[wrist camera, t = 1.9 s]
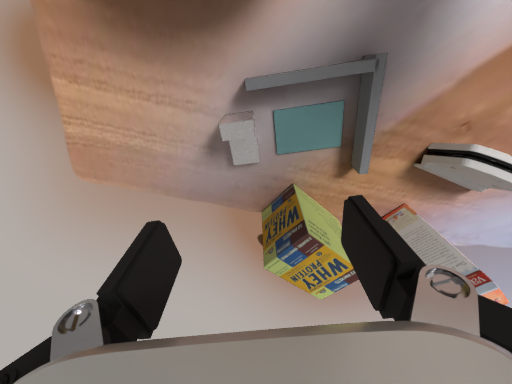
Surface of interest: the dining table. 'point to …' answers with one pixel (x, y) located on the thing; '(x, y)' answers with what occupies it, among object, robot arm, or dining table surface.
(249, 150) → the grey l-shaped block
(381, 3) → the dining table surface
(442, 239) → the cracker box
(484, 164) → the white black slab
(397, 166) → the dining table surface
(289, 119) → the mat
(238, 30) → the dining table surface
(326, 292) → the protein box
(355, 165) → the corner walls
